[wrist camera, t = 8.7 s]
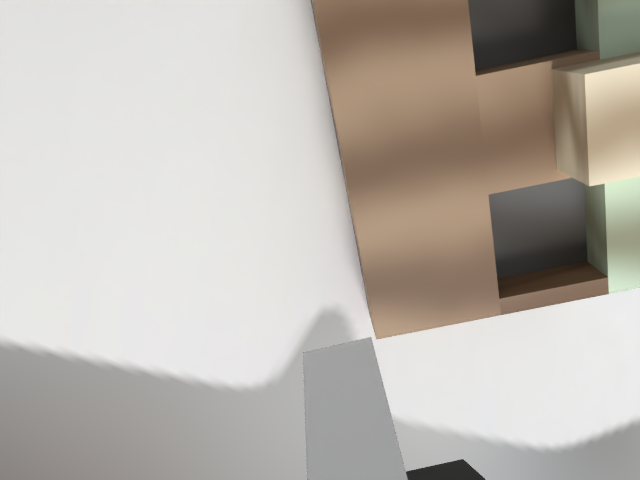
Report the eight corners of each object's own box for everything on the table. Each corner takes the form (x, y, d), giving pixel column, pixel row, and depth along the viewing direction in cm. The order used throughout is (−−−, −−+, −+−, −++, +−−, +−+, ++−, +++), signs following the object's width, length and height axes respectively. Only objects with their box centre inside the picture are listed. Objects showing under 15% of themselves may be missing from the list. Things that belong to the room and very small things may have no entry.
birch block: (551, 69, 29) (584, 74, 25) (654, 48, 29) (701, 50, 25) (557, 169, 30) (589, 186, 27) (654, 150, 30) (699, 164, 27)
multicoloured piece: (302, -44, 29) (304, -57, 25) (686, -126, 29) (754, -153, 25) (369, 315, 36) (380, 352, 32) (683, 253, 36) (736, 283, 31)
